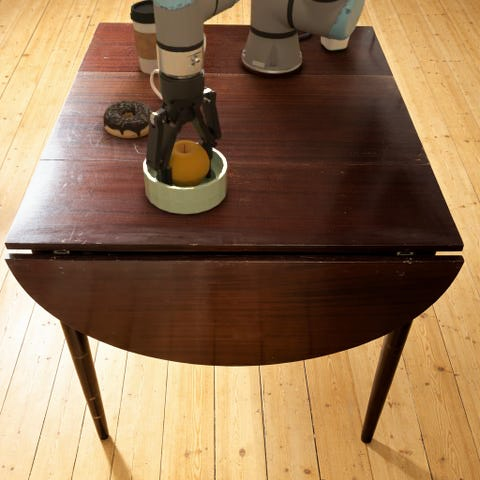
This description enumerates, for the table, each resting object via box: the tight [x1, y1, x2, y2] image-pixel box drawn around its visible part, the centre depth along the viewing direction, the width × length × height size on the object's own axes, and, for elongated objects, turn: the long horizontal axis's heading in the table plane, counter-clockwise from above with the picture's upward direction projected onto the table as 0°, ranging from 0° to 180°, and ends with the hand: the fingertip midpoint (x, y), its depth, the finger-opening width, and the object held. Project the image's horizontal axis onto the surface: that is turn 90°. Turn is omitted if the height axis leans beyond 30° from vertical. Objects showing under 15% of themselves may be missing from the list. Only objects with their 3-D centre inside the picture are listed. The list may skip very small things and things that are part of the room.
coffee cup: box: [129, 0, 159, 75], centre depth 146 cm, size 8×8×15 cm
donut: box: [102, 99, 154, 139], centre depth 131 cm, size 11×12×4 cm
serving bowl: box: [142, 142, 228, 215], centre depth 115 cm, size 15×15×6 cm
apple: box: [168, 139, 210, 187], centre depth 113 cm, size 9×9×9 cm
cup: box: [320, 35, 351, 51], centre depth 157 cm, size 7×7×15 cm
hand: (186, 185), depth 116 cm, fingers closed on apple, 9 cm apart
